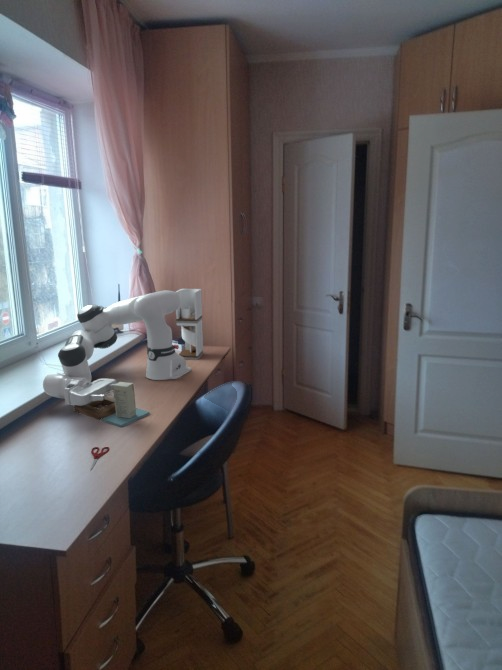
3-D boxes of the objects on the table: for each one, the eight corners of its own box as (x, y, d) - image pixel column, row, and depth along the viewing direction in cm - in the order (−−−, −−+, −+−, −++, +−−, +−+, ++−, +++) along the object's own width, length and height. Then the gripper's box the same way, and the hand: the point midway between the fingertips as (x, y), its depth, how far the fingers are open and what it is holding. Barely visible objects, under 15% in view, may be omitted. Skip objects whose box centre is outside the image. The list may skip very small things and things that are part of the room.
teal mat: (130, 408, 187) (130, 406, 187) (149, 413, 182) (149, 411, 182) (102, 420, 176) (101, 418, 176) (121, 427, 170) (121, 425, 170)
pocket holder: (103, 400, 195) (102, 394, 195) (128, 407, 188) (127, 401, 187) (74, 411, 184) (73, 405, 183) (99, 420, 176) (98, 413, 176)
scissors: (110, 449, 156) (110, 446, 155) (100, 471, 142) (100, 467, 142) (92, 449, 155) (92, 446, 155) (81, 471, 142) (81, 468, 141)
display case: (183, 353, 263) (181, 288, 255) (203, 353, 261) (201, 289, 253) (177, 359, 252) (175, 291, 244) (197, 359, 250) (196, 292, 242)
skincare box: (136, 414, 179) (134, 383, 176) (129, 418, 175) (127, 386, 172) (122, 412, 182) (120, 380, 179) (115, 416, 178) (112, 384, 175)
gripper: (98, 388, 193) (128, 392, 188) (62, 406, 174) (94, 411, 170) (97, 373, 191) (127, 376, 187) (61, 389, 173) (93, 394, 168)
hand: (111, 393), depth 178 cm, fingers open, 8 cm apart
